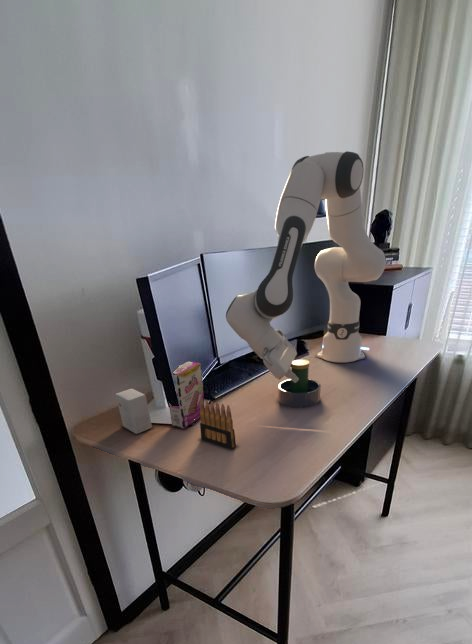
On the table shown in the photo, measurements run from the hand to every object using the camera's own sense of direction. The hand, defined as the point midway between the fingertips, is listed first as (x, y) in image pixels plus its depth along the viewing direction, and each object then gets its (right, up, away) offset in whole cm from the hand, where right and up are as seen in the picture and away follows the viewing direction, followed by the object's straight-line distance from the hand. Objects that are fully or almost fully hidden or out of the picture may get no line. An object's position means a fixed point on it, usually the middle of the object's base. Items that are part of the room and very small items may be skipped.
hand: (299, 377), depth 125 cm
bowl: (+1, -7, +4) cm, 8 cm away
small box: (-49, -17, -6) cm, 52 cm away
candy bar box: (-34, -14, -4) cm, 37 cm away
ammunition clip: (-25, -22, -16) cm, 37 cm away
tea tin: (+1, -6, +4) cm, 7 cm away
